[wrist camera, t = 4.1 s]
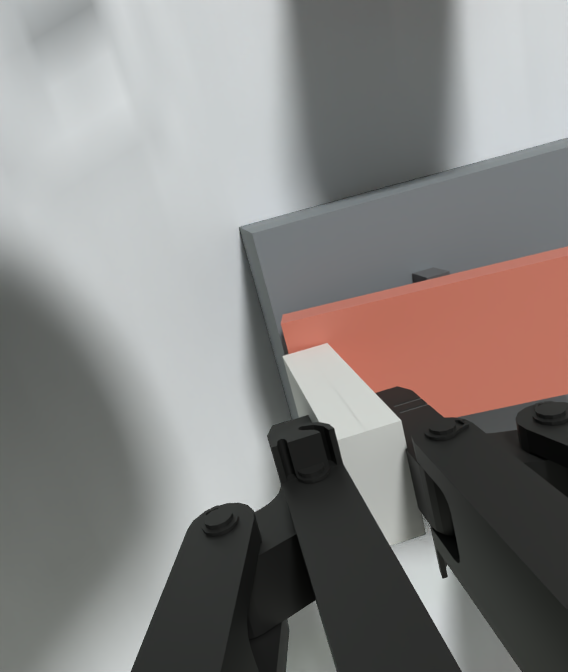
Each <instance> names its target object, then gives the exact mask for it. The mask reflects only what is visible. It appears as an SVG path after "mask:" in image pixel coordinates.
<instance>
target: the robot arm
mask: <svg viewBox="0 0 568 672" xmlns="http://www.w3.org/2000/svg"><path fill="white" fill-rule="evenodd" d="M282 357H283V360H284V364H285V368H286V371H287V375H288V379H289V383H290V386H291V390H292V394H293V397H294V401H295V405H296V408H297V412H298V416H299V418H296V419H293V420H290V421H286V422H283V423H280V424H277V425H273V426H272V428H271V429H270V431H269V433H268V435H267V437H268V441H269V444H270V447H271V451H272V454H273V458H274V461H275V465H276V468H277V472H278V475H279V478H280V482H281V489H280V491H279V493H278V495H277V496H276V497H275V499H273V500H272V501H271V502H270V503H269V504H268V505H266V506H265V507H263V508H261V509H260V510H258V511H256V512H254V511H253V510H252V509H251V508H250V507H249V506H248V505H245V504H241V503H227V504H223V505H220V506H215V507H213V508H211V509H208V510H207V511H205V512H204V513H202V514H201V515H200V516H199V517H197V518H196V519H195V520H194V521H193V522H192V524H191V525H190V527H189V528H188V530H187V532H186V535H185V537H184V540H183V542H182V545H181V547H180V550H179V552H178V555H177V557H176V560H175V562H174V565H173V567H172V570H171V572H170V575H169V577H168V580H167V582H166V585H165V587H164V590H163V592H162V595H161V597H160V600H159V602H158V605H157V607H156V610H155V612H154V615H153V617H152V620H151V622H150V625H149V627H148V630H147V632H146V635H145V637H144V640H143V642H142V645H141V647H140V650H139V652H138V655H137V657H136V660H135V662H134V665H133V667H132V670H131V672H286V662H287V650H288V639H289V626H288V620H287V618H289V617H290V616H292V615H293V614H295V613H296V612H298V611H299V610H301V609H302V608H304V607H306V606H307V605H309V604H310V603H312V602H313V601H315V600H316V604H317V607H318V610H319V614H320V617H321V620H322V624H323V627H324V630H325V634H326V637H327V640H328V644H329V647H330V650H331V654H332V657H333V660H334V664H335V667H336V670H337V672H462V671H461V670H460V668H459V666H458V664H457V663H456V661H455V659H454V657H453V656H452V654H451V652H450V650H449V649H448V647H447V645H446V643H445V642H444V640H443V638H442V636H441V634H440V633H439V631H438V629H437V627H436V626H435V624H434V622H433V620H432V619H431V617H430V615H429V613H428V612H427V610H426V608H425V606H424V605H423V603H422V601H421V599H420V598H419V596H418V594H417V592H416V591H415V589H414V587H413V585H412V584H411V582H410V580H409V578H408V577H407V575H406V573H405V571H404V570H403V568H402V566H401V564H400V563H399V561H398V559H397V557H396V556H395V554H394V552H393V550H392V549H391V547H390V546H392V545H395V544H398V543H401V542H404V541H407V540H410V539H413V538H416V537H419V536H422V535H425V534H426V532H425V528H424V523H423V519H422V514H423V515H424V517H425V518H426V519H427V521H428V522H429V524H430V526H431V531H432V536H433V541H434V545H435V550H436V555H437V559H438V564H439V569H440V572H441V575H442V578H446V577H448V576H447V571H446V566H447V564H448V566H449V567H450V569H451V570H452V572H453V573H454V574H455V576H456V577H457V579H458V580H459V582H460V583H461V585H462V586H463V587H464V589H465V590H466V592H467V593H468V595H469V596H470V598H471V599H472V600H473V602H474V603H475V605H476V606H477V608H478V609H479V611H480V612H481V613H482V615H483V616H484V618H485V619H486V621H487V622H488V624H489V625H490V626H491V628H492V629H493V631H494V632H495V634H496V635H497V637H498V638H499V639H500V641H501V642H502V644H503V645H504V647H505V648H506V649H507V651H508V652H509V654H510V655H511V657H512V658H513V660H514V661H515V662H516V664H517V665H518V667H519V668H520V670H521V671H522V672H568V403H566V402H554V401H545V402H544V403H543V402H539V403H535V404H534V405H531V406H528V407H525V408H524V409H522V410H521V411H520V412H518V414H517V416H516V425H517V430H512V431H504V432H497V433H485V432H484V431H483V430H481V429H480V428H479V427H477V426H476V425H475V424H474V423H472V422H470V421H468V420H466V419H462V418H456V417H447V418H444V417H443V416H442V415H441V414H439V413H438V412H437V411H436V410H435V409H433V408H432V407H431V406H430V405H428V404H427V403H426V402H425V401H424V400H423V399H421V398H420V397H419V396H418V395H417V394H416V393H415V392H414V391H412V390H410V389H406V388H402V387H399V386H396V387H393V388H390V389H386V390H383V391H380V392H377V393H375V392H374V391H373V390H372V389H371V388H370V387H369V386H368V385H367V384H366V383H365V382H364V381H363V380H362V379H361V378H360V377H359V376H358V375H357V374H356V373H355V371H354V370H353V369H352V368H351V367H350V366H349V365H348V364H347V363H346V362H345V361H344V360H343V359H342V358H341V357H340V356H339V355H338V354H337V353H336V352H335V351H334V349H333V348H332V347H331V346H330V345H329V344H328V343H325V344H322V345H318V346H315V347H312V348H308V349H305V350H301V351H298V352H295V353H291V354H288V355H284V356H282ZM421 513H422V514H421Z"/></svg>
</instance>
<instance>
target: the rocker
mask: <svg viewBox="0 0 568 672" xmlns="http://www.w3.org/2000/svg"><path fill="white" fill-rule="evenodd" d="M281 327H282V330H283V334H284V338H285V342H286V345H287V349H288V353H289V354H291V353H295V352H298V351H301V350H305V349H308V348H312V347H315V346H318V345H322V344H325V343H328V344H329V345H330V346H331V347H332V348H333V349H334V351H335V352H336V353H337V354H338V355H339V356H340V357H341V358H342V359H343V360H344V361H345V362H346V363H347V364H348V365H349V366H350V367H351V368H352V369H353V370H354V371H355V373H356V374H357V375H358V376H359V377H360V378H361V379H362V380H363V381H364V382H365V383H366V384H367V385H368V386H369V387H370V388H371V389H372V390H373V391H374V392H375V393H377V392H380V391H383V390H386V389H390V388H393V387H396V386H399V387H402V388H406V389H410V390H412V391H414V392H415V393H416V394H417V395H418V396H419V397H420V398H421V399H423V400H424V401H425V402H426V403H427V404H428V405H430V406H431V407H432V408H433V409H435V410H436V411H437V412H438V413H439V414H441V415H442V416H443V417H444V418H447V417H461V416H465V415H470V414H475V413H480V412H485V411H489V410H494V409H499V408H504V407H508V406H513V405H518V404H523V403H527V402H532V401H537V400H542V399H547V398H551V397H556V396H561V395H566V394H568V246H567V247H563V248H559V249H554V250H550V251H546V252H542V253H538V254H533V255H529V256H525V257H521V258H517V259H513V260H508V261H504V262H500V263H496V264H492V265H488V266H483V267H479V268H475V269H471V270H467V271H462V272H458V273H454V274H450V275H446V276H442V277H437V278H433V279H429V280H425V281H421V282H416V283H412V284H408V285H404V286H400V287H396V288H391V289H387V290H383V291H379V292H375V293H371V294H366V295H362V296H358V297H354V298H350V299H345V300H341V301H337V302H333V303H329V304H325V305H320V306H316V307H312V308H308V309H304V310H299V311H295V312H291V313H287V314H283V315H282V320H281Z"/></svg>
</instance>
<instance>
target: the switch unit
mask: <svg viewBox="0 0 568 672" xmlns="http://www.w3.org/2000/svg"><path fill="white" fill-rule="evenodd" d="M239 228H240V232H241V235H242V239H243V243H244V246H245V250H246V254H247V257H248V261H249V265H250V268H251V272H252V275H253V279H254V283H255V286H256V290H257V294H258V297H259V301H260V305H261V308H262V312H263V316H264V319H265V323H266V326H267V330H268V334H269V337H270V341H271V345H272V348H273V352H274V356H275V359H276V363H277V366H278V370H279V374H280V377H281V381H282V385H283V388H284V392H285V396H286V399H287V403H288V407H289V410H290V414H291V417H292V420H293V419H296V418H299V416H298V412H297V408H296V405H295V401H294V397H293V394H292V390H291V386H290V383H289V379H288V375H287V371H286V368H285V364H284V360H283V357H282V356H284V355H288V354H289V353H288V349H287V345H286V342H285V338H284V334H283V330H282V327H281V320H282V315H283V314H287V313H291V312H295V311H299V310H304V309H308V308H312V307H316V306H320V305H325V304H329V303H333V302H337V301H341V300H345V299H350V298H354V297H358V296H362V295H366V294H371V293H375V292H379V291H383V290H387V289H391V288H396V287H400V286H404V285H408V284H412V283H416V282H421V281H425V280H429V279H433V278H437V277H442V276H446V275H450V274H454V273H458V272H462V271H467V270H471V269H475V268H479V267H483V266H488V265H492V264H496V263H500V262H504V261H508V260H513V259H517V258H521V257H525V256H529V255H533V254H538V253H542V252H546V251H550V250H554V249H559V248H563V247H567V246H568V138H565V139H561V140H558V141H554V142H550V143H547V144H543V145H539V146H536V147H532V148H528V149H525V150H521V151H517V152H514V153H510V154H506V155H503V156H499V157H495V158H492V159H488V160H484V161H481V162H477V163H473V164H469V165H466V166H462V167H458V168H455V169H451V170H447V171H444V172H440V173H436V174H433V175H429V176H425V177H422V178H418V179H414V180H411V181H407V182H403V183H400V184H396V185H392V186H389V187H385V188H381V189H377V190H374V191H370V192H366V193H363V194H359V195H355V196H352V197H348V198H344V199H341V200H337V201H333V202H330V203H326V204H322V205H319V206H315V207H311V208H308V209H304V210H300V211H297V212H293V213H289V214H285V215H282V216H278V217H274V218H271V219H267V220H263V221H260V222H256V223H252V224H249V225H245V226H241V227H239ZM545 401H554V402H566V403H568V394H566V395H561V396H556V397H551V398H547V399H542V400H537V401H532V402H527V403H523V404H518V405H513V406H508V407H504V408H499V409H494V410H489V411H485V412H480V413H475V414H470V415H465V416H461V417H456V418H462V419H466V420H468V421H470V422H472V423H474V424H475V425H476V426H477V427H479V428H480V429H481V430H483V431H484V432H485V433H497V432H504V431H512V430H517V425H516V416H517V414H518V412H520V411H521V410H522V409H524V408H525V407H528V406H531V405H534V404H535V403H539V402H543V403H544V402H545Z"/></svg>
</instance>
